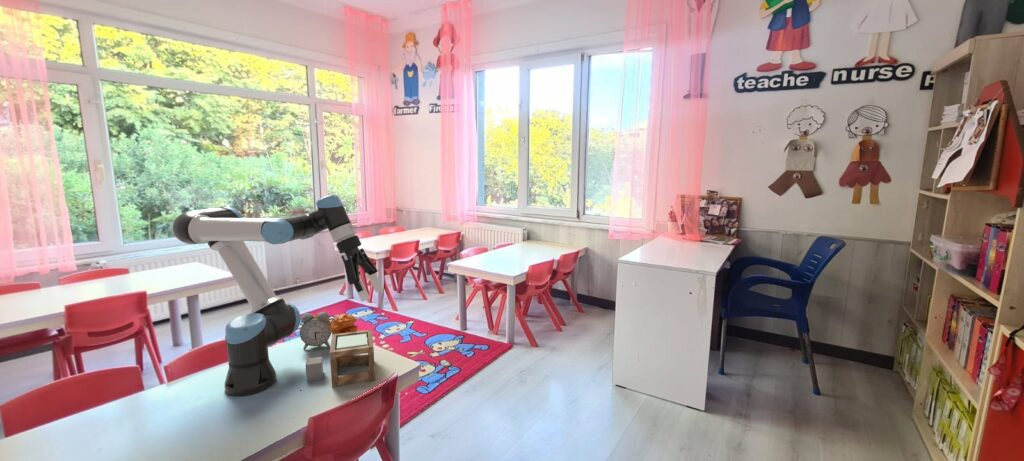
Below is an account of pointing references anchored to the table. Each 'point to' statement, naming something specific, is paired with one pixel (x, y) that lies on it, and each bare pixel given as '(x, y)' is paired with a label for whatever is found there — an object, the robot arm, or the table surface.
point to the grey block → (314, 368)
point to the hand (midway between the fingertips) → (373, 295)
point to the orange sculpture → (343, 325)
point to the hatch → (351, 341)
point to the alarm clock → (315, 329)
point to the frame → (352, 360)
